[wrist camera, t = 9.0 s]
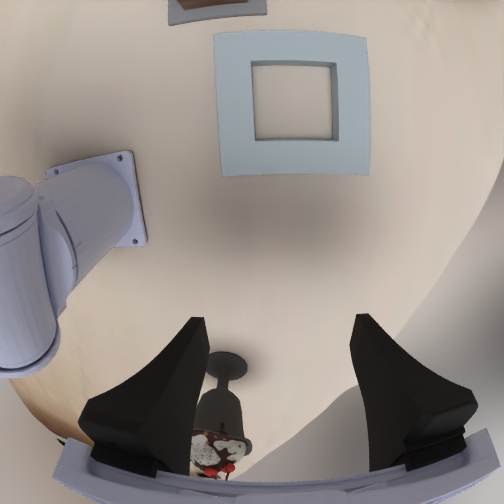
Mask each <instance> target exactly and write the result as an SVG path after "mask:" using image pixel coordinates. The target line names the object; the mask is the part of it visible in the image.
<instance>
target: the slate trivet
mask: <svg viewBox="0 0 504 504" xmlns="http://www.w3.org/2000/svg"><path fill="white" fill-rule="evenodd" d="M251 15H267V11H266V0H248V3H235V4H225V5H216V6H209V7H202V8H196V9H191V10H184V9H183V8H182V6H181V5H180V4H179V3H178V2H177V0H168V25H169V26H173V25H178V24H183V23H189V22H195V21H201V20H208V19H216V18H225V17H236V16H251Z"/></svg>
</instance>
